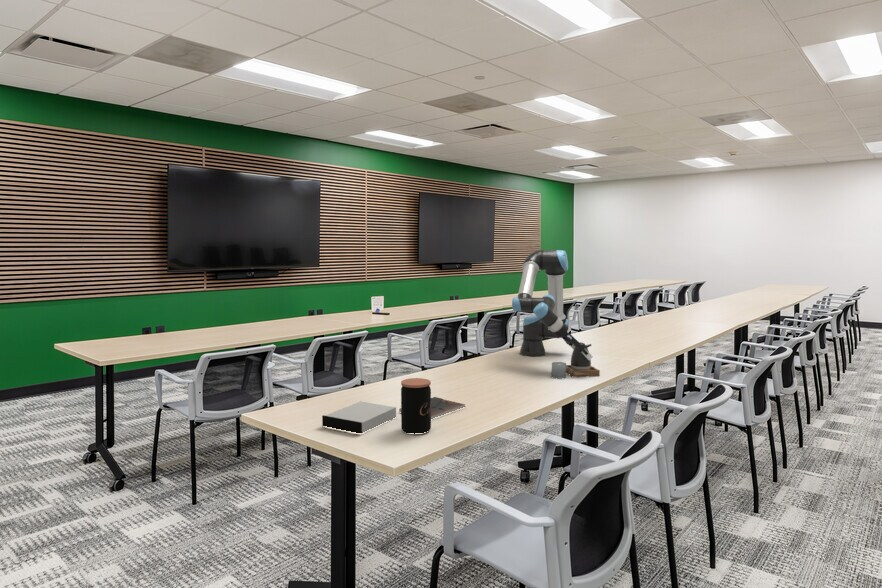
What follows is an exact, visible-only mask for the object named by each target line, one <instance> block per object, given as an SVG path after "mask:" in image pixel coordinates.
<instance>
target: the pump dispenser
mask: <svg viewBox="0 0 882 588" xmlns="http://www.w3.org/2000/svg"><path fill="white" fill-rule="evenodd" d="M579 343H581V344H582V345H583V346H584V347H585V349H586V350H587V351H588V352H589V353H590V351H589V349H588V348H589V347H591V346H592V343H590V344H585V343H584V342H579ZM579 351H580V350H579V349H577V348H576V347H575V348H574V350H573V349H572V352H571V358H570V365H571V366H572V369H573V370H574V371H580V370H589V368H590V366H592V358H591V359H590V360H588V359H587V358H586V357H585V356H584V355H583V354H582V353H580V352H579Z"/></svg>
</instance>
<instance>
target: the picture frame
mask: <svg viewBox="0 0 882 588" xmlns="http://www.w3.org/2000/svg"><path fill="white" fill-rule="evenodd" d="M463 407H465V408H466V404H465V403H460V402H457V401H452V400H447V399H445V398H440V397H437V396H433V397H431V419H433V418H435V417H438V416H441V415H444V414H446V413H449V412H452V411H455V410H457V409H460V408H463ZM398 412H401V407H400V408H398Z"/></svg>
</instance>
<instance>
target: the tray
mask: <svg viewBox="0 0 882 588" xmlns="http://www.w3.org/2000/svg"><path fill="white" fill-rule="evenodd" d="M600 372H601V371H600V369H598V368H596V367H594V365H593V366H592V365H591V366H590V368H589V370H580V371H574V370H573V369H572V366H571V364H566V374H567V373H568V375H569V374H570V376H571V377H572V376H573V377H572V378H584V377H586V376H589V377H600V375H601V373H600Z"/></svg>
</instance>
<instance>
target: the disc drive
mask: <svg viewBox="0 0 882 588" xmlns="http://www.w3.org/2000/svg"><path fill="white" fill-rule="evenodd" d="M395 417H396V418H397V406H390V405H384V404H378V403H373V402H366V401H358V402H355V403H353V404H350V405H348V406H345V407H343V408H340V409H338V410H335V411H333V412H330V413H328V414H324V415H322V416H321V418H322V423H321V424H322V425H321V426H322V427H323V426H327V427H332V428H336V429H341V430H346V431H351V432H356V433H363V432H365V431H367V430H369V429H372V428H374V427H376V426H378V425H380V424H382V423H384V422H386V421H389V420H391V419H393V418H395ZM391 421H392V420H391ZM389 422H390V421H389Z"/></svg>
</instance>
